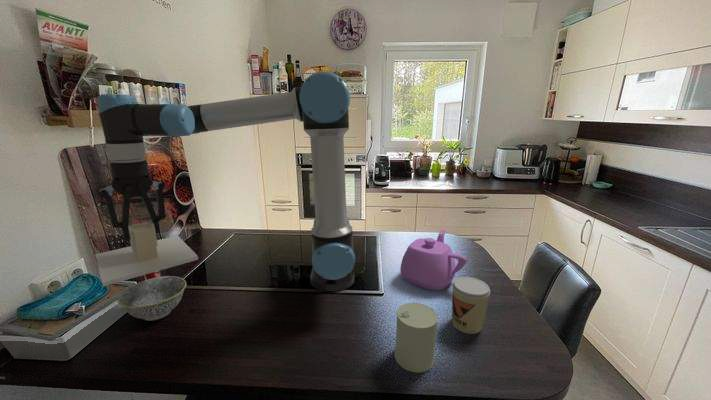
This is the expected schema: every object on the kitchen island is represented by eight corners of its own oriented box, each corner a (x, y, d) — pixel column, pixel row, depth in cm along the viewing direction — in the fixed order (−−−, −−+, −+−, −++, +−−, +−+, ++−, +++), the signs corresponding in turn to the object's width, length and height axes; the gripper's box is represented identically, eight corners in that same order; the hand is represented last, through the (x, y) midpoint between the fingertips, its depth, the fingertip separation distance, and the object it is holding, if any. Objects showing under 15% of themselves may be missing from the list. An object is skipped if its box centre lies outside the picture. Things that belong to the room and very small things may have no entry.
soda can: (153, 292, 95) (146, 257, 92) (139, 290, 96) (132, 256, 93) (166, 283, 100) (160, 250, 97) (153, 282, 101) (147, 249, 98)
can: (390, 343, 74) (392, 301, 71) (427, 341, 75) (430, 299, 72) (399, 374, 65) (401, 327, 62) (440, 371, 66) (444, 325, 63)
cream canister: (441, 318, 83) (445, 280, 80) (467, 310, 87) (471, 273, 84) (465, 340, 75) (470, 298, 72) (493, 330, 79) (499, 290, 76)
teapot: (455, 303, 90) (459, 258, 86) (393, 282, 102) (395, 241, 98) (474, 273, 108) (479, 234, 104) (420, 258, 120) (423, 222, 116)
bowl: (174, 291, 96) (171, 270, 94) (200, 309, 87) (196, 286, 85) (114, 317, 83) (108, 293, 81) (136, 341, 74) (130, 314, 72)
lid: (198, 259, 80) (193, 228, 78) (102, 286, 67) (94, 249, 65) (178, 238, 94) (174, 211, 92) (96, 257, 81) (88, 226, 79)
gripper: (164, 156, 82) (176, 235, 88) (81, 161, 71) (102, 252, 77) (171, 159, 77) (184, 243, 83) (83, 165, 65) (105, 262, 72)
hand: (144, 247), depth 80 cm, fingers closed on lid, 4 cm apart
